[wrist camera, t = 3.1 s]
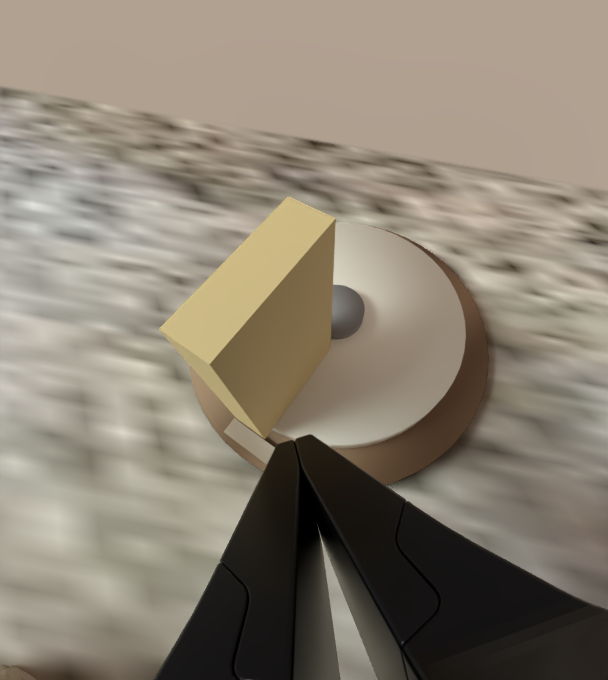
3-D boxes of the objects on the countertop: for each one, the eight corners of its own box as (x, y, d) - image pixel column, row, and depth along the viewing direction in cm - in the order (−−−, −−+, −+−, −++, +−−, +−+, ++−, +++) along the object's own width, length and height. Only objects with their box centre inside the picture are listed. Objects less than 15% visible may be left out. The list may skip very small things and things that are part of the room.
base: (525, 304, 18) (537, 291, 17) (391, 572, 13) (396, 576, 12) (300, 200, 22) (299, 185, 21) (135, 375, 17) (123, 366, 16)
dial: (494, 299, 17) (631, 124, 9) (373, 521, 13) (442, 526, 5) (305, 210, 20) (295, 28, 13) (162, 366, 16) (21, 234, 9)
